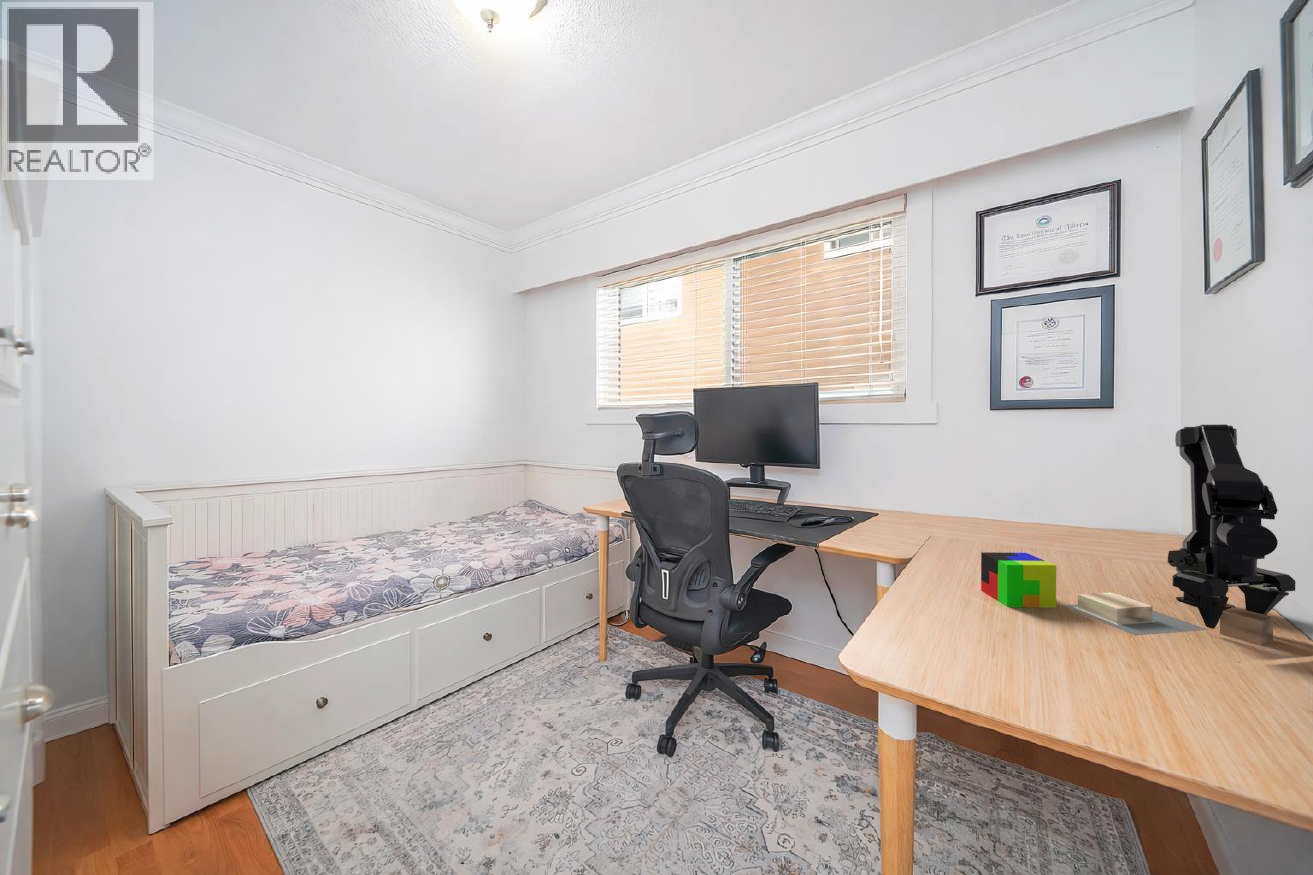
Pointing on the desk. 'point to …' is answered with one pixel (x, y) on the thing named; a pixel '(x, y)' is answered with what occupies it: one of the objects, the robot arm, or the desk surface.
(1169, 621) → the build mat
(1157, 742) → the desk surface
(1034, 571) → the puzzle toy
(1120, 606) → the maple slab
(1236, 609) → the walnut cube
